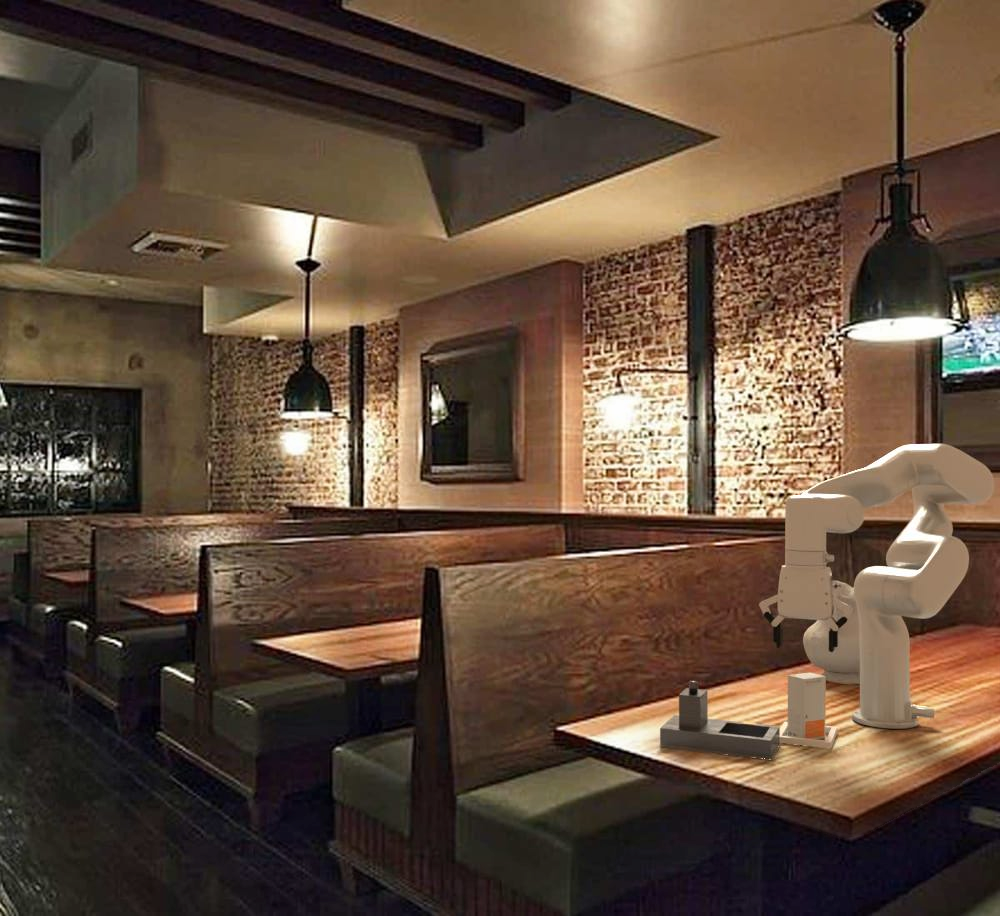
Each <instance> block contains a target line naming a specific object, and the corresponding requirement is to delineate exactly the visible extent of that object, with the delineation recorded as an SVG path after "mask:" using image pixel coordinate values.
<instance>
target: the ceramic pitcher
mask: <svg viewBox="0 0 1000 916" xmlns="http://www.w3.org/2000/svg"><path fill="white" fill-rule="evenodd" d="M833 593H834V598H836V599H838V600H840V601H841V602H843V603H845V604H847V605H849V606H851V607H852V608H853V612H852V614H851V615H850V617H849V619H848V621H847V622H846V623H845V624H844V625H843V626H842V627H840V628H839V629H838V647H834V651H833V652H830V651H829V631H830V626H829V625H828V624H827V623H826V621H825V620H816V621H815V622H814V623H813V624H812V625H810V626H809V627H808V628H807V629H806V631H805V632H804V634H803V637H802V643H803V647H804V652H805V655H806V657H807V658H808V660H809V661H810V663H811V664H813V666H814V667H816V668H819V669H821V670H823V671H824V672H823V673H821V675H822V676H825V677H826V682H828V683H833V684H842V685H850V686H852V685H860V632H859V617H858V610H857V605H856V601H855V596H854V586H853V587H852V586H851V585H849V584H848V583H846V582H841V581H839V580H835V579H834V580H833ZM843 614H844V612H843V610H841V609H839V608H838V607H836V606H834V614H833V615H832V616H833V618H834V619H835V620H836V621H838V620H839V619H840V618H841V617H842V615H843Z"/></svg>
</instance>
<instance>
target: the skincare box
mask: <svg viewBox="0 0 1000 916" xmlns="http://www.w3.org/2000/svg"><path fill="white" fill-rule="evenodd" d="M826 682H827V681H826V677H825V676H822V674H817V673H814V672H804V673H803V672H801V673H800V672H799V673H796V674H789V675H787V722H788V732H787V736H789V737H798V738H808V739H817V740H823V739H824V740H825V739H826V733H825V726H826V707H827V706H826V700H827V699H826V696H827V695H826V692H827V690H826V688H827V687H826V686H827V683H826Z"/></svg>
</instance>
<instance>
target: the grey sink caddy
mask: <svg viewBox="0 0 1000 916" xmlns="http://www.w3.org/2000/svg"><path fill="white" fill-rule="evenodd" d="M698 682H699V681H697V680H689V681H688V687H686V688H685V689H683V691H681V692H680V693H679V694H678V714H677V715H676V714H673V715H672V716H671V718H669V719H668V720H667V721H666V722H665V723H664V724H663V725H662V726H660V729H659V746H660V748H667V749H674V750H683V751H691V752H700V753H706V754H715V753H716V754H715V755H722V754H728V755H727V756H730V755H735V756H734V757H739V756H743V757H742V758H747V757H756V758H763V759H764V758H765V759H771V758H772V759H773V757H774V756H775V754H776V752H777V751H776V750H778V749H779V747H780V744H781V743H780V728H781V726H780V725H772V724H771V725H770V724H762V723H761V724H760V723H755V722H749V721H748V722H747V721H746V722H745V721H742V722H741V721H733V720H723V719H714V718H708V714H709V713H708V712H709V711H708V689H702V688H701V689H700V688H698V687H699V686H698V685H699V683H698ZM778 746H779V747H778ZM777 748H778V749H777ZM775 751H776V752H775ZM774 753H775V754H774ZM773 755H774V756H773ZM772 756H773V757H772ZM763 759H762V760H763ZM772 759H771V760H772Z"/></svg>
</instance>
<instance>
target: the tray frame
mask: <svg viewBox="0 0 1000 916" xmlns="http://www.w3.org/2000/svg"><path fill="white" fill-rule="evenodd" d="M787 731H788V721H784V722H783V723H782V724H781V726H780V744H782V743H789V744H788V745H791V744H797V745H796V746H800V745H806V746H805V747H808V746H812V747H811V748H817V747H818V748H819V749H825V750H826V749H828V750H831V749H832V747H833V745H834V743H835V740H836V738H837V735H838V726H834V725H833V726H832V725H825V734H827V737H826V738H825V739H824V740H823V739H808V738H798V737H789V736H788V735H787V734H788V732H787ZM786 733H787V734H786Z"/></svg>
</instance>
